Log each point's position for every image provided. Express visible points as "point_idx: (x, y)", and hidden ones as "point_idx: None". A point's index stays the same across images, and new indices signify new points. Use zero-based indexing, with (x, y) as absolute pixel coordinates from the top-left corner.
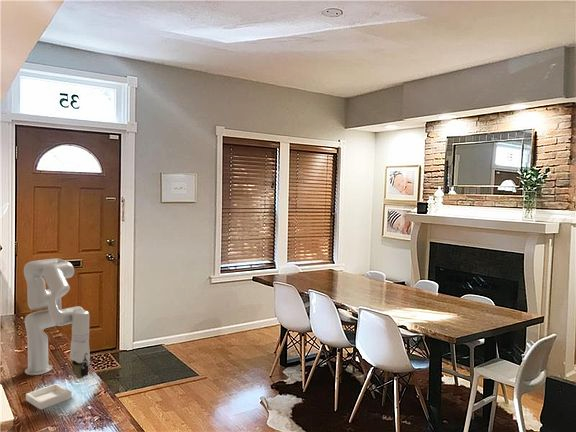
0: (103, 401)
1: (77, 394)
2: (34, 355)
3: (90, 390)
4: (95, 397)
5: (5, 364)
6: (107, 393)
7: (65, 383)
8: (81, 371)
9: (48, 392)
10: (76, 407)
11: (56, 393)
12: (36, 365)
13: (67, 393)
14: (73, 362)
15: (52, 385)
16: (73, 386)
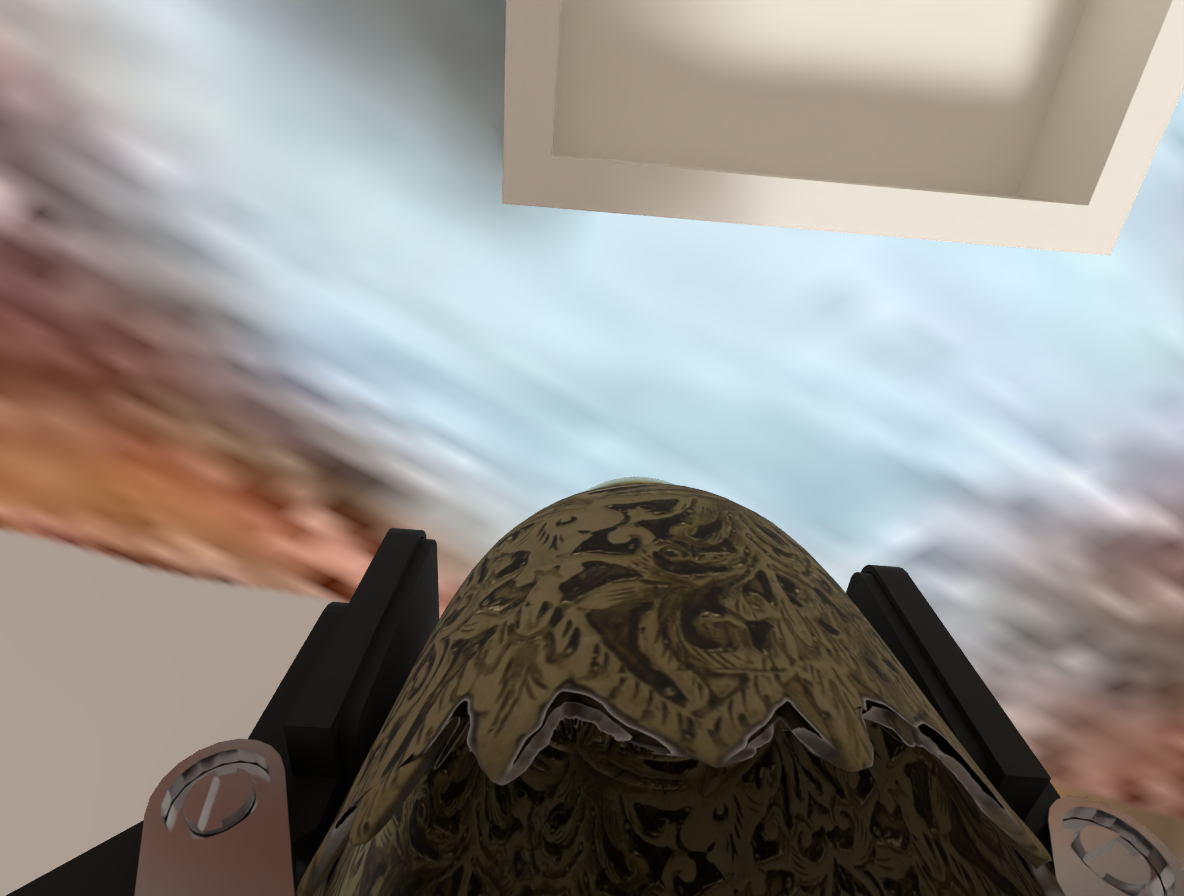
0: (33, 417)
1: (569, 333)
2: None
3: (535, 509)
4: (255, 426)
5: None
6: (265, 576)
7: (1061, 444)
8: (344, 631)
9: (1068, 39)
10: (73, 8)
11: (882, 109)
12: None
13: (507, 106)
14: (1003, 849)
15: (1130, 142)
16: (865, 452)
